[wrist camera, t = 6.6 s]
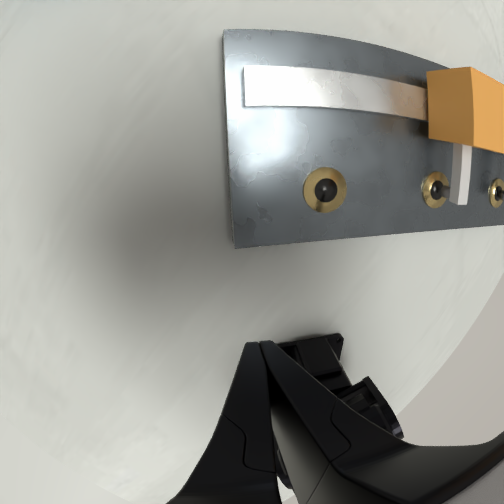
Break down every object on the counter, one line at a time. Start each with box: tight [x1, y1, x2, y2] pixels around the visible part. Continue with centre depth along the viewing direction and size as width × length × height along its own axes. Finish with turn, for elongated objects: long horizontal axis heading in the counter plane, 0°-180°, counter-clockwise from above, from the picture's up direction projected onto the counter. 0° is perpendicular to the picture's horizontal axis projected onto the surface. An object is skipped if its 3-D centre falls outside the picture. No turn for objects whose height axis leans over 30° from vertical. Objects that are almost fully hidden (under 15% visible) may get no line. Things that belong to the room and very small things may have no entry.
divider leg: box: [426, 67, 504, 205], centre depth 15 cm, size 10×6×5 cm, turn 2°
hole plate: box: [222, 29, 504, 249], centre depth 16 cm, size 14×30×7 cm, turn 92°
